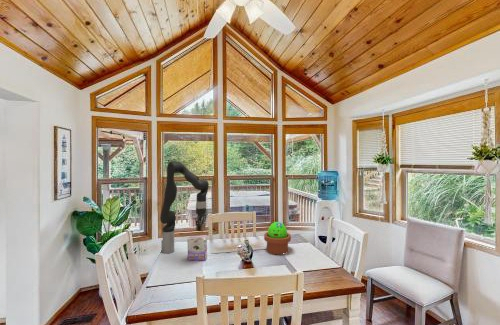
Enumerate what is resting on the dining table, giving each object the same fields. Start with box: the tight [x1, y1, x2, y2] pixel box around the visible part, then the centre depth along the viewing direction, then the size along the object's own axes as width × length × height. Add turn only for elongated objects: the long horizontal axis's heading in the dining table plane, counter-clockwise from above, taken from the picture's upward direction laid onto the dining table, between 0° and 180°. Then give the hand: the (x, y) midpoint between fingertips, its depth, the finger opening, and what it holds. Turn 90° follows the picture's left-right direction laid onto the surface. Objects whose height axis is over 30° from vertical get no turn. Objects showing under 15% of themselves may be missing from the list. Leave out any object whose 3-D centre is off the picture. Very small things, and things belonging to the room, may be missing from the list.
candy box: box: [187, 236, 208, 262], centre depth 188 cm, size 14×6×16 cm, turn 84°
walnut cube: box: [195, 222, 206, 232], centre depth 183 cm, size 5×5×5 cm
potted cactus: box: [263, 221, 292, 255], centre depth 206 cm, size 22×22×25 cm
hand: (200, 229), depth 183 cm, fingers closed on walnut cube, 5 cm apart
